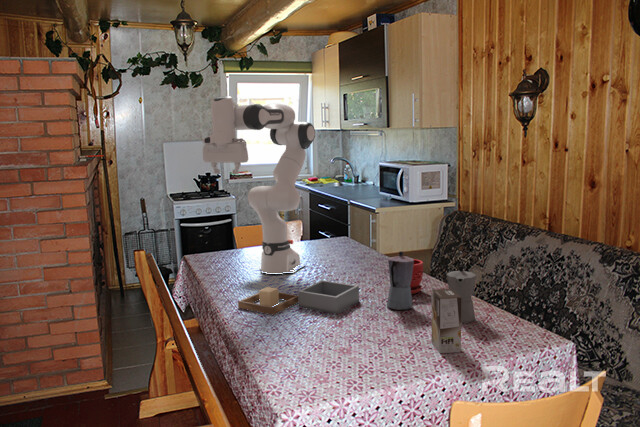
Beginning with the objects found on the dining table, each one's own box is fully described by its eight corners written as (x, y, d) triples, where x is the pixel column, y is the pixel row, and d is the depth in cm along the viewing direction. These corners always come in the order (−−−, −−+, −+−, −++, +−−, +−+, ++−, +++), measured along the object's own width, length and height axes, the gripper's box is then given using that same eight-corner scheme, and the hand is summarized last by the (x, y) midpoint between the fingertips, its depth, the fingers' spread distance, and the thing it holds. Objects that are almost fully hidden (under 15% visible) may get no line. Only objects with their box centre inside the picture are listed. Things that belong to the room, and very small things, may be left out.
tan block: (268, 302, 201) (267, 286, 200) (279, 304, 198) (278, 288, 197) (259, 306, 197) (259, 290, 196) (270, 308, 194) (269, 292, 193)
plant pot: (429, 290, 210) (429, 260, 209) (410, 298, 201) (410, 267, 199) (401, 284, 219) (401, 255, 217) (382, 292, 210) (382, 262, 208)
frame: (265, 296, 208) (265, 289, 208) (299, 302, 200) (299, 295, 199) (238, 308, 195) (238, 301, 195) (273, 315, 186) (273, 308, 186)
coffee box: (461, 352, 151) (462, 297, 149) (439, 353, 151) (440, 298, 148) (451, 340, 160) (451, 288, 158) (430, 341, 160) (430, 289, 157)
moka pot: (418, 302, 196) (418, 248, 193) (407, 315, 182) (407, 258, 179) (393, 299, 200) (393, 246, 197) (380, 312, 186) (379, 256, 183)
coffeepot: (474, 326, 171) (475, 271, 168) (444, 324, 173) (444, 269, 171) (476, 311, 185) (477, 259, 182) (448, 309, 188) (448, 258, 185)
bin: (322, 295, 207) (322, 280, 206) (359, 301, 199) (358, 285, 198) (298, 307, 194) (298, 291, 193) (336, 314, 185) (336, 297, 185)
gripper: (250, 138, 207) (252, 174, 209) (210, 138, 217) (212, 173, 219) (240, 138, 202) (242, 175, 204) (199, 139, 212) (201, 174, 214)
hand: (226, 174), depth 212 cm, fingers open, 8 cm apart
